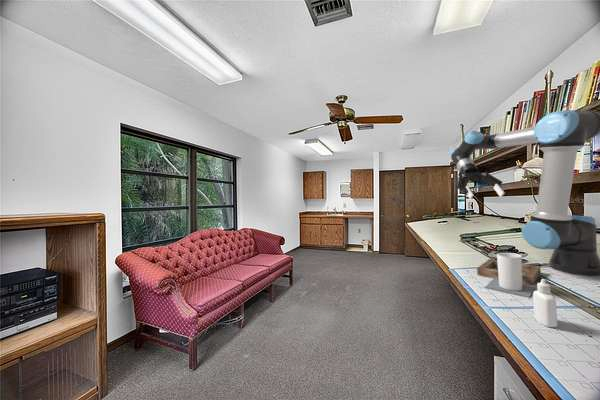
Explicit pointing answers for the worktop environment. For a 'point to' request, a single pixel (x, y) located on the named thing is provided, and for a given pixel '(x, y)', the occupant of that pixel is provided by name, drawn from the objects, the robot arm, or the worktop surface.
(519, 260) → the mug
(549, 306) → the eye dropper bottle
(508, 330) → the worktop surface
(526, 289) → the rubber mat
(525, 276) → the walnut collar
